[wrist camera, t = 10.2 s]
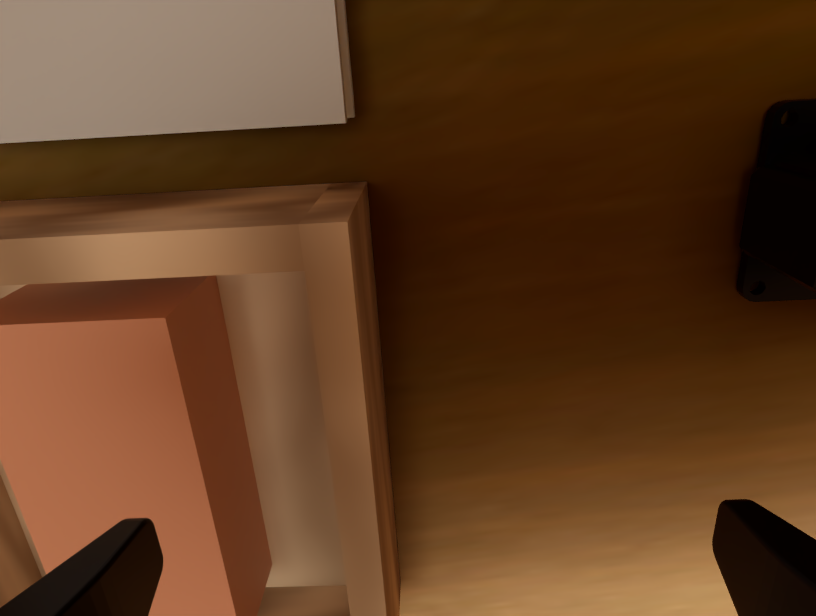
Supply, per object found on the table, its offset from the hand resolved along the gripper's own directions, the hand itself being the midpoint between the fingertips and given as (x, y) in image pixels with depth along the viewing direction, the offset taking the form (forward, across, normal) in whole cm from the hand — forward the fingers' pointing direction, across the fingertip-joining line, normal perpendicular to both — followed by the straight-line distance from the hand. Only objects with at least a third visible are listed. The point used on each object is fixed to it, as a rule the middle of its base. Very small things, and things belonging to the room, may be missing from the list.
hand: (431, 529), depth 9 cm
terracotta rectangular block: (+11, +10, +5) cm, 16 cm away
